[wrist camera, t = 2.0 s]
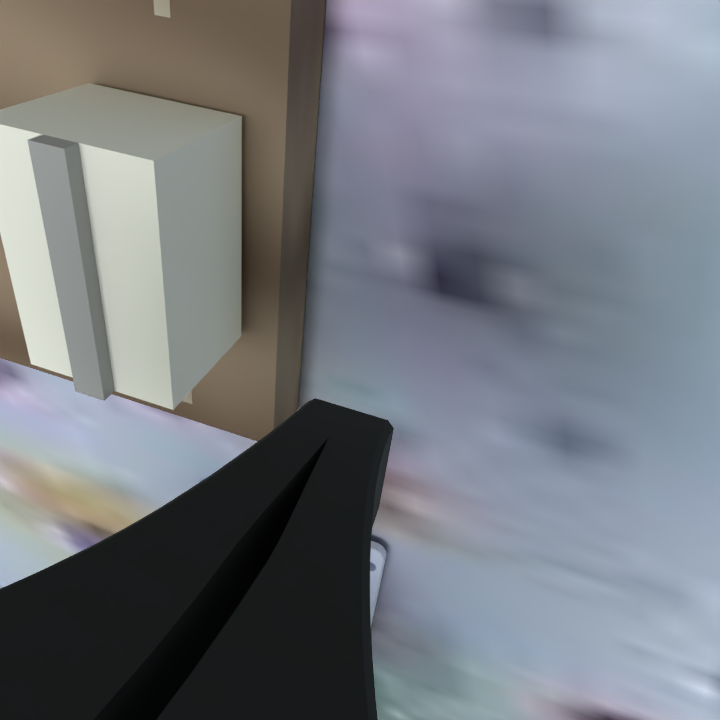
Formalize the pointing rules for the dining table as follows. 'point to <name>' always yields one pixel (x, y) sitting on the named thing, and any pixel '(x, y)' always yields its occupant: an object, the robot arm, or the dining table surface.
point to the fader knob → (123, 238)
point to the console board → (259, 156)
